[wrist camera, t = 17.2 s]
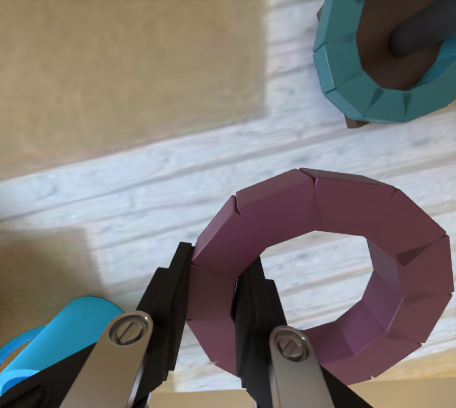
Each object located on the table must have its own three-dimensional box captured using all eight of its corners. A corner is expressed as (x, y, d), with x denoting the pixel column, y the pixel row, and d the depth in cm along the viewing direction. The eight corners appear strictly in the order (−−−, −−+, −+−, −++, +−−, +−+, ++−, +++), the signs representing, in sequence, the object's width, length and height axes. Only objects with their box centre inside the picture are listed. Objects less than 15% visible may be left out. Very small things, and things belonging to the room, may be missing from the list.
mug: (124, 297, 25) (75, 370, 17) (132, 348, 28) (93, 432, 20) (23, 293, 25) (-70, 364, 18) (41, 344, 28) (-33, 426, 20)
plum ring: (154, 224, 10) (137, 245, 8) (393, 128, 9) (440, 127, 7) (240, 373, 13) (242, 413, 11) (424, 321, 12) (461, 357, 10)
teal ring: (295, -10, 15) (305, -31, 13) (470, -102, 13) (511, -142, 11) (335, 144, 18) (348, 145, 16) (481, 85, 16) (514, 79, 14)
